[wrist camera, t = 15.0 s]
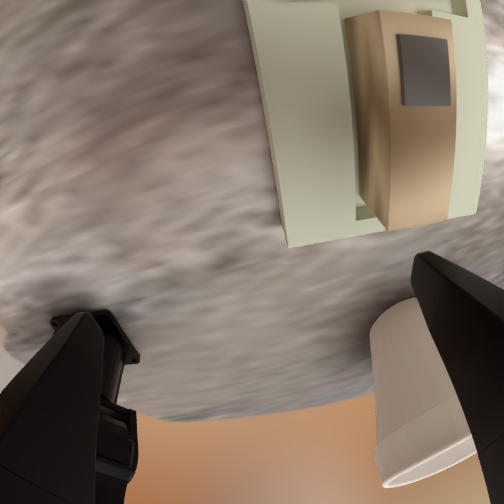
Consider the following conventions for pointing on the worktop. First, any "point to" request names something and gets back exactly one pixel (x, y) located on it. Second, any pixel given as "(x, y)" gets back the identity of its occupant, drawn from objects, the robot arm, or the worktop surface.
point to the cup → (413, 400)
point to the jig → (349, 109)
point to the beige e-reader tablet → (404, 114)
